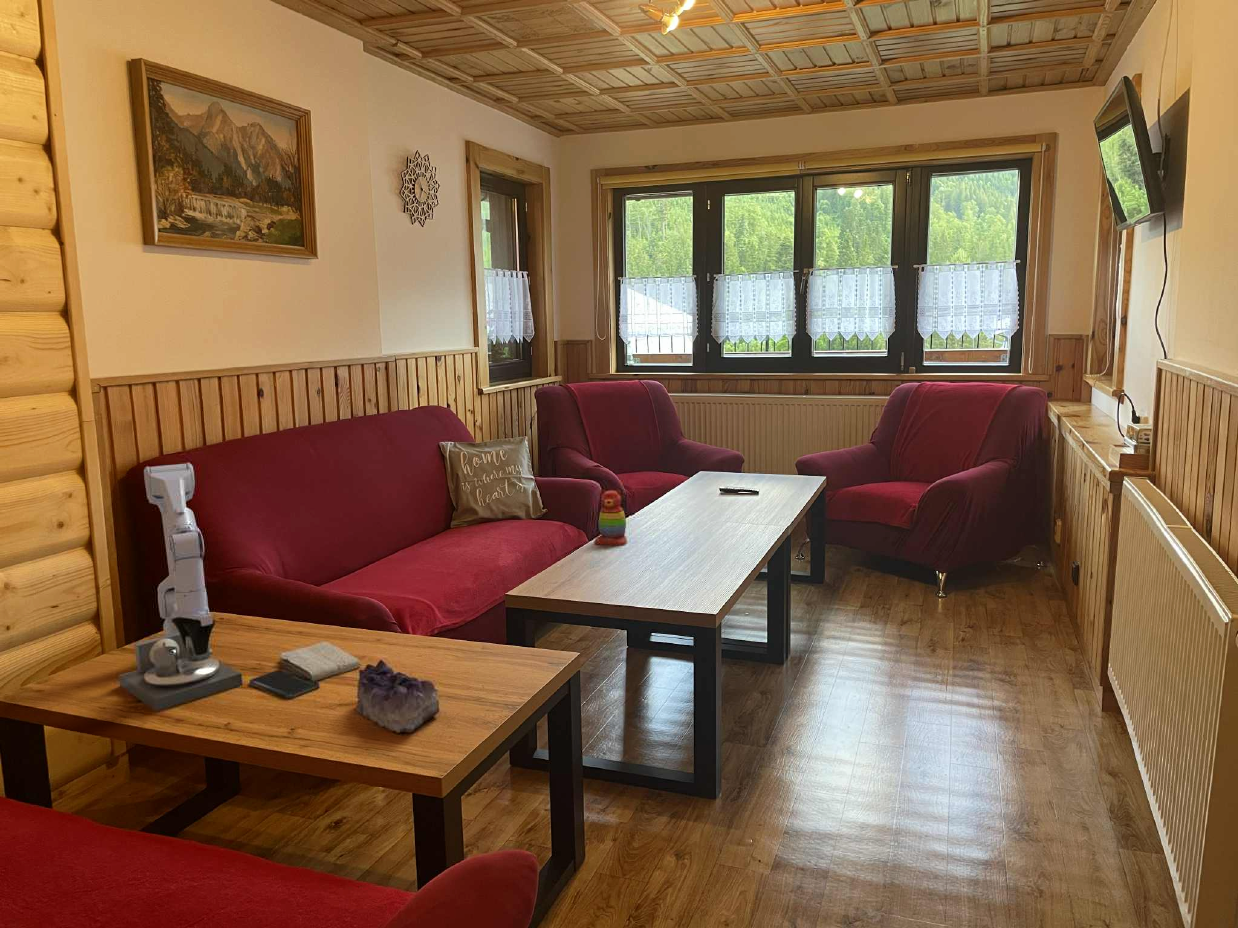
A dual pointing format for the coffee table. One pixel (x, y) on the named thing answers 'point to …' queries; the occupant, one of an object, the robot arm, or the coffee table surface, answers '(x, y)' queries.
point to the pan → (184, 673)
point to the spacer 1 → (166, 661)
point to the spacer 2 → (191, 654)
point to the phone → (284, 684)
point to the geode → (395, 698)
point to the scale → (175, 694)
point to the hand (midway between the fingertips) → (196, 651)
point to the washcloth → (319, 661)
